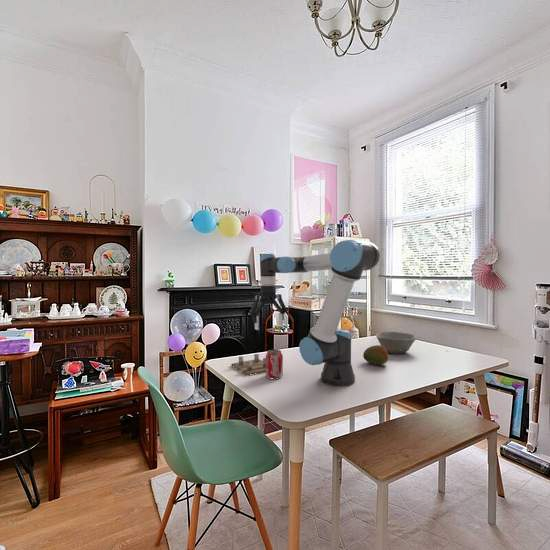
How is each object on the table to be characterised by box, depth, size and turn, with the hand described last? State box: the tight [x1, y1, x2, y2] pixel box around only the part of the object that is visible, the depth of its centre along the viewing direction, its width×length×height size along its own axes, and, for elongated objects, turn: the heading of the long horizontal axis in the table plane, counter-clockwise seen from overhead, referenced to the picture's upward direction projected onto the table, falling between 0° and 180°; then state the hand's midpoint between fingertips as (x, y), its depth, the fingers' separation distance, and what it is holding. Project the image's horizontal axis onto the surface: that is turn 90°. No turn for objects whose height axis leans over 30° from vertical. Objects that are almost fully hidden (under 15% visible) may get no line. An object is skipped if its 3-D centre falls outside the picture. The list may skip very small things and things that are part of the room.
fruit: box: [362, 344, 389, 366], centre depth 172 cm, size 12×13×10 cm
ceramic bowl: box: [375, 331, 418, 355], centre depth 195 cm, size 22×23×10 cm
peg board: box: [230, 353, 266, 376], centre depth 166 cm, size 18×16×5 cm
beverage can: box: [265, 349, 284, 380], centre depth 153 cm, size 8×8×12 cm
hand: (268, 328), depth 162 cm, fingers open, 13 cm apart
